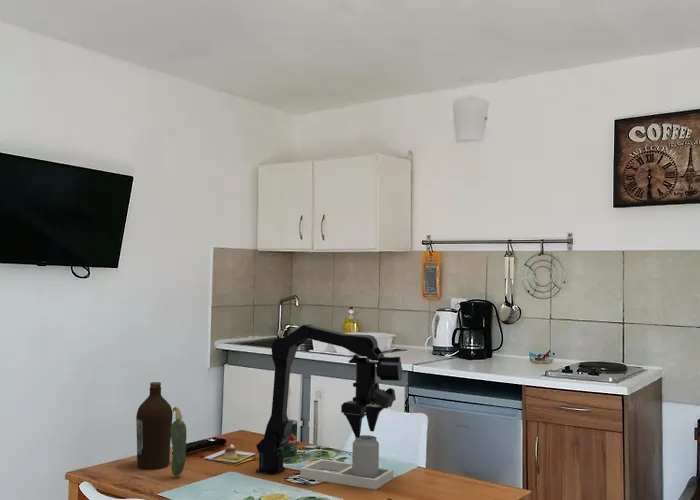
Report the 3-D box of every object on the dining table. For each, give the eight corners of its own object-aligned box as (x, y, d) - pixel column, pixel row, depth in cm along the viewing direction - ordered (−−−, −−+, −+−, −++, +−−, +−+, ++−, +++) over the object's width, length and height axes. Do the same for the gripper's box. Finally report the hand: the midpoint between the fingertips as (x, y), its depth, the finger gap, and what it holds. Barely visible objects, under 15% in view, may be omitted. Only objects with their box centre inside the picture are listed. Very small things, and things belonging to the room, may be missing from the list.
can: (379, 476, 193) (379, 434, 193) (377, 484, 185) (378, 440, 186) (353, 475, 193) (353, 433, 194) (351, 483, 186) (351, 439, 186)
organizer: (300, 477, 192) (300, 468, 192) (321, 467, 203) (321, 459, 203) (375, 489, 181) (375, 480, 181) (393, 478, 192) (393, 469, 192)
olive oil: (168, 460, 209) (170, 379, 210) (173, 468, 199) (175, 384, 201) (133, 463, 205) (135, 381, 206) (136, 472, 195) (139, 386, 197)
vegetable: (188, 476, 191) (190, 406, 192) (179, 480, 187) (181, 408, 188) (174, 474, 193) (176, 405, 194) (166, 479, 189) (168, 407, 190)
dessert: (203, 461, 210) (203, 445, 210) (224, 452, 221) (225, 438, 221) (235, 465, 205) (236, 449, 206) (256, 456, 217) (256, 441, 217)
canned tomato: (295, 459, 212) (296, 424, 212) (271, 458, 212) (271, 423, 213) (298, 453, 220) (298, 419, 220) (274, 452, 220) (274, 419, 220)
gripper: (376, 385, 180) (376, 444, 179) (404, 377, 196) (403, 431, 195) (340, 382, 185) (339, 439, 184) (370, 374, 201) (369, 427, 200)
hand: (364, 434), depth 191 cm, fingers open, 9 cm apart
